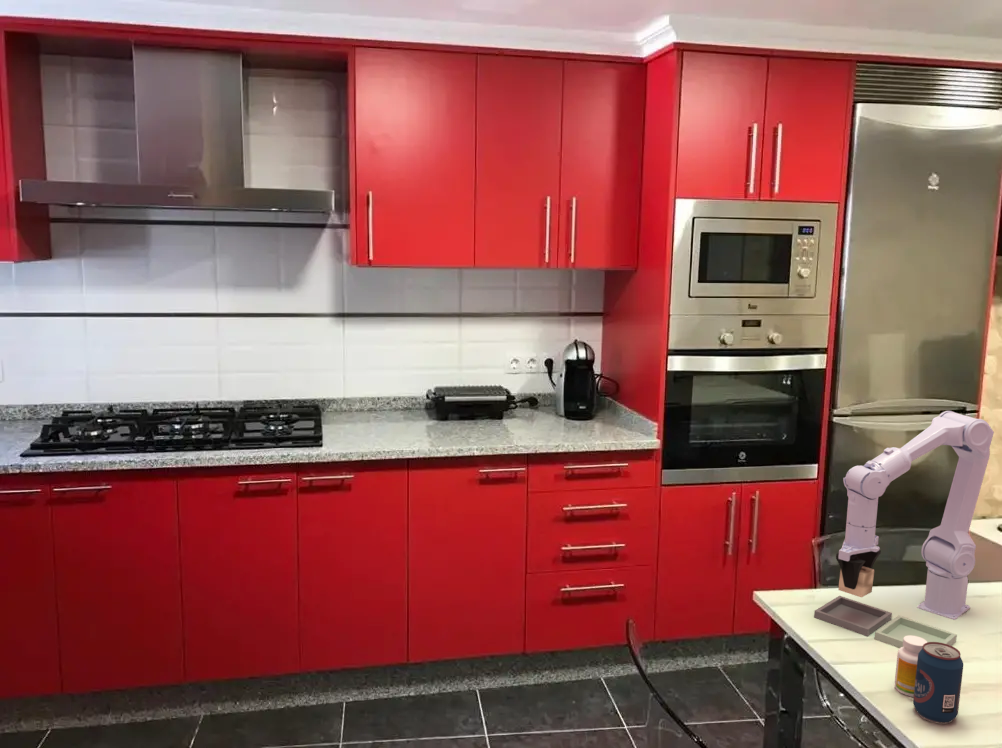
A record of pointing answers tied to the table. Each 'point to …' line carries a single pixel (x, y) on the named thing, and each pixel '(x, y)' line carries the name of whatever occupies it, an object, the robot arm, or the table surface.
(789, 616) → the table surface
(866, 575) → the letter cube
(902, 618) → the sage tray
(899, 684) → the supplement bottle
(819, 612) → the charcoal tray
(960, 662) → the soda can
